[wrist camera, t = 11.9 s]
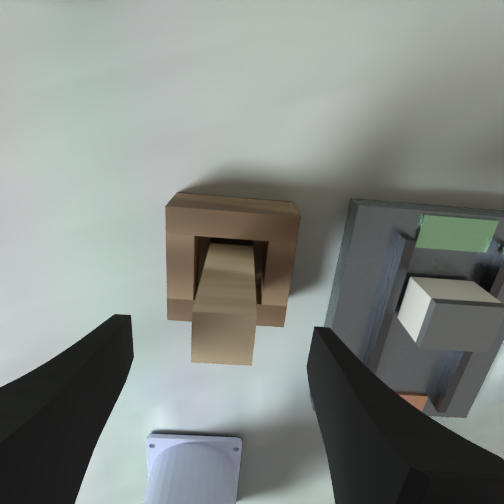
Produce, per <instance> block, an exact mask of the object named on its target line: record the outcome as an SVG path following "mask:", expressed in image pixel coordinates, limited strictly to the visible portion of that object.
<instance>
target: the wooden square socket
mask: <svg viewBox="0 0 504 504" xmlns="http://www.w3.org/2000/svg"><path fill="white" fill-rule="evenodd" d="M165 208H166V264H167V320H177V321H192V310H193V306H194V302H195V298H196V294H197V291H198V287H199V283H200V279H201V276H202V272H203V268H204V264H205V260H206V257H207V253H208V249H209V245H210V242H211V238H212V237H217V238H230V239H244V240H253V251H254V269H255V287H256V305H257V321H256V325H258V326H274V327H284V322H285V315H286V309H287V302H288V296H289V289H290V282H291V276H292V269H293V263H294V256H295V250H296V243H297V236H298V230H299V223H300V215H299V213H298V211H297V209H296V207H295V205H294V203H293V202H286V201H274V200H261V199H249V198H237V197H224V196H212V195H200V194H187V193H176V194H175V195H174V197H173V198H172V199H171V200H170V201H169V203H168V204H167V205H166V206H165Z"/></svg>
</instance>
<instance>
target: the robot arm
mask: <svg viewBox="0 0 504 504" xmlns="http://www.w3.org/2000/svg"><path fill="white" fill-rule="evenodd" d="M133 358H134V353H133V338H132V324H131V315H120V314H115V315H113V316H112V317H110V318H109V319H108V320H106V321H105V322H104V323H102V324H101V325H100V326H98V327H97V328H96V329H94V330H93V331H92V332H90V333H89V334H87V335H86V336H85V337H83V338H82V339H81V340H79V341H78V342H76V343H75V344H74V345H72V346H71V347H69V348H68V349H66V350H65V351H63V352H62V353H60V354H59V355H57V356H56V357H54V358H53V359H51V360H50V361H48V362H46V363H45V364H43V365H41V366H40V367H38V368H36V369H34V370H33V371H31V372H29V373H27V374H26V375H24V376H22V377H20V378H18V379H16V380H14V381H12V382H10V383H8V384H6V385H4V386H2V387H0V504H75V501H76V498H77V495H78V492H79V490H80V487H81V484H82V481H83V478H84V475H85V473H86V470H87V467H88V464H89V462H90V459H91V456H92V453H93V451H94V448H95V446H96V444H97V441H98V439H99V437H100V435H101V432H102V430H103V428H104V426H105V424H106V422H107V420H108V418H109V416H110V414H111V412H112V410H113V407H114V405H115V403H116V401H117V399H118V397H119V395H120V393H121V391H122V389H123V386H124V384H125V382H126V379H127V377H128V374H129V371H130V368H131V364H132V361H133ZM307 373H308V381H309V388H310V393H311V397H312V400H313V404H314V408H315V412H316V415H317V419H318V423H319V426H320V430H321V434H322V437H323V441H324V444H325V449H326V453H327V457H328V463H329V468H330V474H331V480H332V486H333V492H334V498H335V504H504V460H503V459H502V458H501V457H499V456H497V455H495V454H493V453H491V452H489V451H488V450H486V449H484V448H482V447H480V446H478V445H476V444H474V443H472V442H470V441H468V440H466V439H465V438H463V437H461V436H459V435H458V434H456V433H454V432H453V431H451V430H449V429H448V428H446V427H444V426H443V425H441V424H440V423H438V422H436V421H435V420H433V419H432V418H430V417H429V416H427V415H426V414H424V413H423V412H421V411H420V410H419V409H417V408H416V407H414V406H413V405H411V404H410V403H409V402H407V401H406V400H405V399H403V398H402V397H401V396H400V395H398V394H397V393H396V392H395V391H393V390H392V389H391V388H390V387H388V386H387V385H386V384H385V383H384V382H383V381H381V380H380V379H379V378H378V377H377V376H376V375H375V374H374V373H373V372H372V371H371V370H370V369H368V368H367V367H366V366H365V365H364V364H363V363H362V362H361V361H360V360H359V359H358V358H357V356H356V355H355V354H354V353H353V352H352V351H351V350H350V349H349V348H348V347H347V346H346V345H345V344H344V343H343V341H342V340H341V339H340V338H339V337H338V336H337V335H336V334H335V333H334V332H333V330H332V329H331V328H330V327H314V332H313V337H312V342H311V347H310V352H309V357H308V362H307ZM146 449H147V466H148V484H147V488H146V492H145V495H144V499H143V503H142V504H236V497H237V488H238V479H239V470H240V461H241V451H242V440H241V439H240V438H237V437H215V436H192V435H170V434H150V435H148V436H147V439H146Z"/></svg>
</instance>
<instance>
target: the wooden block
mask: <svg viewBox="0 0 504 504" xmlns="http://www.w3.org/2000/svg"><path fill="white" fill-rule="evenodd" d="M256 321H257V305H256V287H255V269H254V251H253V240H244V239H230V238H217V237H212V238H211V242H210V245H209V249H208V253H207V257H206V260H205V264H204V268H203V272H202V276H201V279H200V283H199V287H198V291H197V294H196V298H195V302H194V306H193V310H192V343H191V362H194V363H212V364H230V365H249V366H252V357H253V348H254V339H255V330H256Z"/></svg>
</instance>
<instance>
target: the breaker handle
mask: <svg viewBox="0 0 504 504" xmlns="http://www.w3.org/2000/svg"><path fill="white" fill-rule="evenodd" d="M397 318H398V319H399V321H400V322H401V323H402V325H403V326H404V327H405V329H406V330H407V332H408V333H409V334H410V336H411V337H412V339H413V340H414V341H415V343H416V344H417V345H418V347H419V348H420V349H436V350H453V351H470V352H487V353H488V351H489V349H490V347H491V345H492V343H493V340H494V338H495V336H496V334H497V332H498V330H499V328H500V325H501V323H502V321H503V319H504V304H503V303H501V302H500V301H499V300H497V299H496V298H495V297H493V296H492V295H491V294H489V293H488V292H487V291H485V290H484V289H483V288H481V287H480V286H479V285H478V284H476V283H475V282H474V281H465V280H451V279H436V278H422V277H410V279H409V282H408V285H407V288H406V291H405V295H404V298H403V301H402V304H401V307H400V311H399V314H398V317H397Z"/></svg>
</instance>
